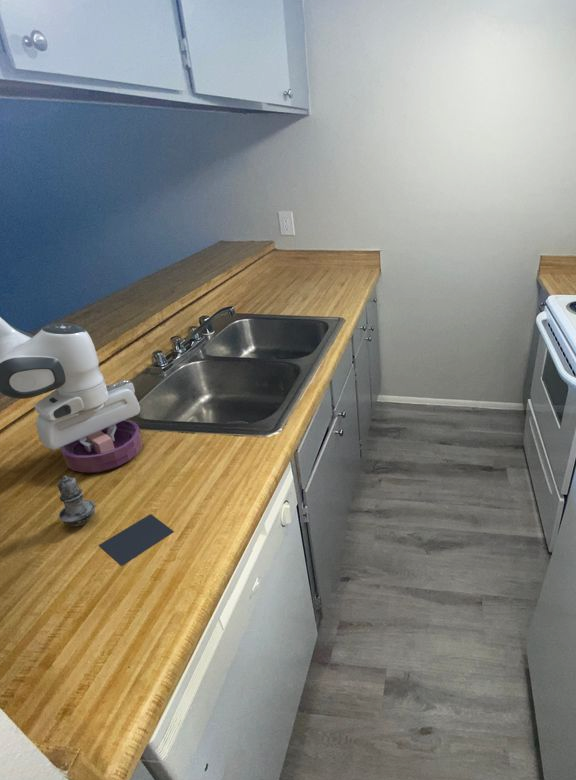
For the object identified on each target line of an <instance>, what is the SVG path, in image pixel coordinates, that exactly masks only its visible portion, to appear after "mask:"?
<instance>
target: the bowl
mask: <svg viewBox="0 0 576 780" xmlns="http://www.w3.org/2000/svg"><path fill="white" fill-rule="evenodd" d="M139 426H140V425H138V423H136V422H135V421H133V420H131V419H126V420H124V421H121V422H119V423H117V424H116V427H117V428H116V431H115V433H114V439H115V441H113V444H114V448H115V449H114V450H111V451H108V452H104V453H101V454H98V453H97V452H95V451H94V450H93V451H91V452H88V451H87V450H86V449H85V446H84V445H83V444H82V443H80V442H79V441H74V442H72V443H70V444H67V445H65V446H62V447H60V448H59V450H60V453H61V455H62V458H63V460H64V463H65V466H66V467H67V468H68V469H70V470H71V471H75V472H78V473H89V474H93V473H95V474H96V473H101V472H107V471H110V470H114V469H116V468H119V467H121V466H123V465H125V464H126V463H128V462H130V461H131V460H132V459H134V458H135V457H136V456H137V455H138V454H139V453H140V452H141V450H142V449H143V446H144V439H143V436H142V433H141V432H142V431H141V429H140V427H139ZM100 431H101V432H103V433H104V434H107V431H108V427H107V428H105V429H103V430H100ZM85 442H87V440H86V441H85Z"/></svg>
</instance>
